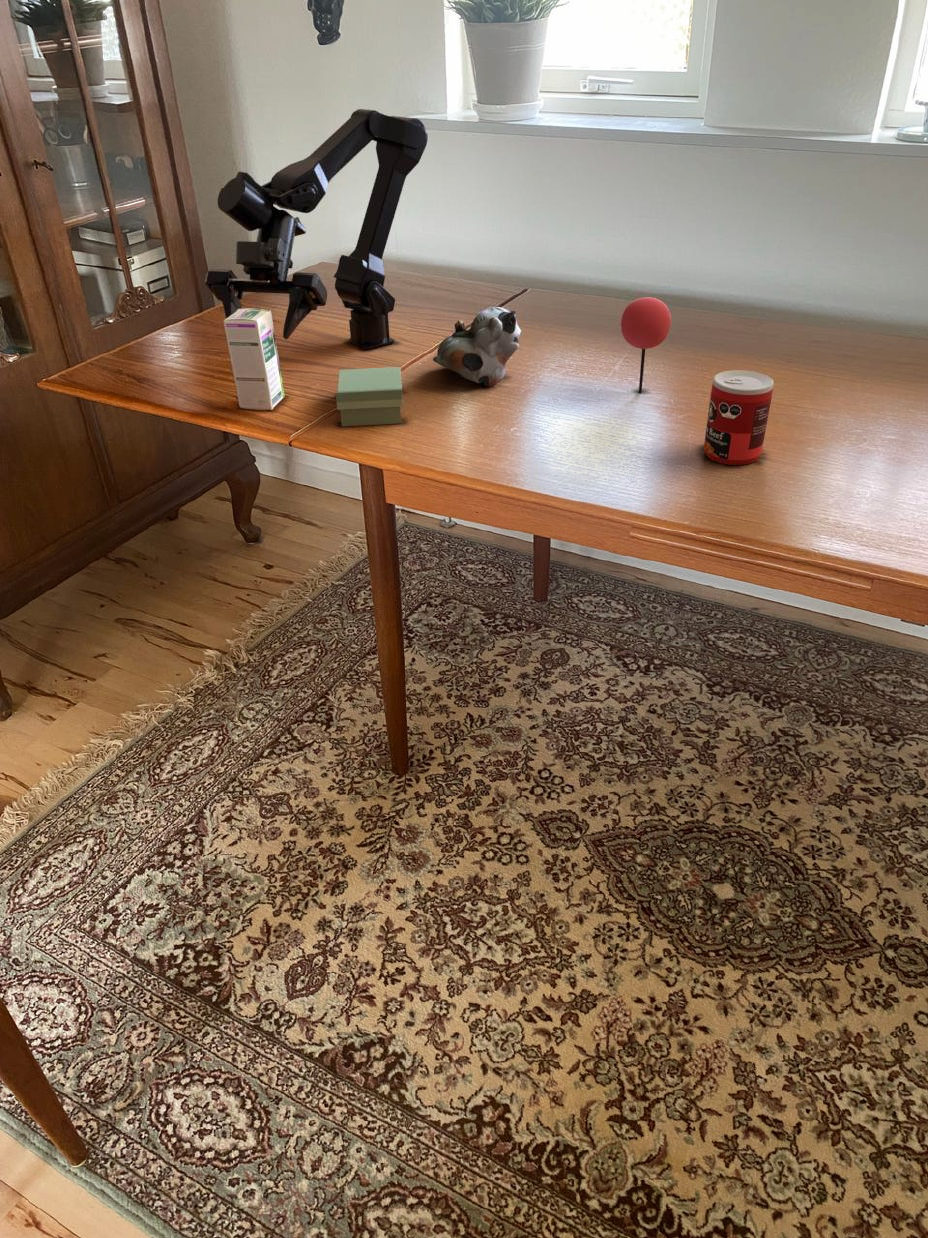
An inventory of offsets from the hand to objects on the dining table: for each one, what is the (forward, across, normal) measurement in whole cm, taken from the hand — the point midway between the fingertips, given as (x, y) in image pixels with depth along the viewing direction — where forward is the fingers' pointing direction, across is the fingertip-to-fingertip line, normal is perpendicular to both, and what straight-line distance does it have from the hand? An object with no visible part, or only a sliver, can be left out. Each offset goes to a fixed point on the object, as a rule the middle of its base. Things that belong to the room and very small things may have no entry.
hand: (257, 336), depth 146 cm
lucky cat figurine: (-4, +32, +18) cm, 37 cm away
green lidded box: (+8, +18, +6) cm, 21 cm away
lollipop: (-1, +60, +16) cm, 62 cm away
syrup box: (+9, 0, +6) cm, 11 cm away
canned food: (+14, +74, 0) cm, 76 cm away
